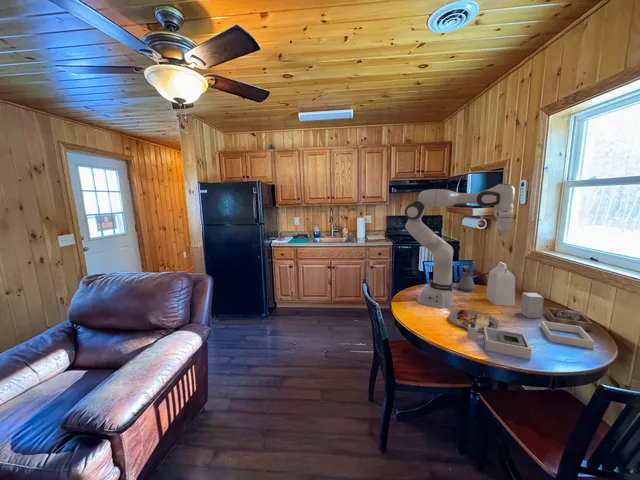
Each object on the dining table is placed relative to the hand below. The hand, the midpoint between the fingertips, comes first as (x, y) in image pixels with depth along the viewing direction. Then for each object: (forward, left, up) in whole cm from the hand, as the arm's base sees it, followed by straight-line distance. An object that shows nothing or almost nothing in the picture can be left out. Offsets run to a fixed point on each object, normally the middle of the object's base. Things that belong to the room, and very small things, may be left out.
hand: (501, 237), depth 149 cm
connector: (-14, -38, -46) cm, 61 cm away
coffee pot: (-10, +37, -46) cm, 60 cm away
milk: (+4, +20, -46) cm, 50 cm away
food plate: (-13, -19, -46) cm, 51 cm away
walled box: (-1, -41, -46) cm, 61 cm away
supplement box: (+17, +3, -46) cm, 49 cm away
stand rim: (+32, +1, -46) cm, 56 cm away
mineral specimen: (+33, +1, -46) cm, 56 cm away
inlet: (+1, -41, -46) cm, 61 cm away
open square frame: (+26, -19, -46) cm, 56 cm away
